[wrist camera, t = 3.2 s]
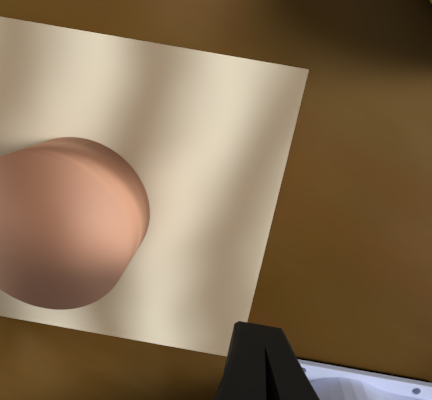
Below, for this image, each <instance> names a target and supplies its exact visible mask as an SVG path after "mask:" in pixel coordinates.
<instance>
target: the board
mask: <svg viewBox="0 0 432 400" xmlns="http://www.w3.org/2000/svg"><path fill="white" fill-rule="evenodd" d="M308 71H309V69H303V68H297V67H292V66H286V65H280V64H274V63H268V62H262V61H257V60H251V59H245V58H239V57H233V56H227V55H221V54H216V53H210V52H204V51H198V50H192V49H186V48H181V47H175V46H169V45H163V44H157V43H151V42H146V41H140V40H134V39H128V38H122V37H116V36H110V35H105V34H99V33H93V32H87V31H81V30H75V29H70V28H64V27H58V26H52V25H46V24H40V23H34V22H29V21H23V20H17V19H11V18H5V17H0V156H2V155H5V154H8V153H11V152H14V151H17V150H20V149H24V148H27V147H30V146H33V145H36V144H39V143H42V142H45V141H49V140H52V139H55V138H61V137H78V138H84V139H88V140H92V141H95V142H98V143H100V144H102V145H104V146H106V147H108V148H110V149H112V150H113V151H115V152H116V153H118V154H119V155H120V156H121V157H122V158H124V159H125V160H126V161H127V162H128V163H129V164H130V165H131V167H132V168H133V169H134V170H135V172H136V173H137V174H138V176H139V178H140V179H141V181H142V183H143V185H144V188H145V190H146V193H147V196H148V200H149V207H150V220H149V226H148V229H147V232H146V235H145V237H144V239H143V241H142V243H141V244H140V246H139V248H138V249H137V251H136V253H135V254H134V256H133V258H132V259H131V261H130V263H129V264H128V266H127V268H126V269H125V271H124V273H123V274H122V276H121V278H120V279H119V281H118V282H117V284H116V285H115V286H114V288H113V289H112V290H111V291H110V292H109V293H108V294H107V295H105V296H104V297H103V298H101V299H100V300H98V301H96V302H94V303H92V304H89V305H87V306H84V307H80V308H75V309H67V310H54V309H46V308H41V307H37V306H33V305H30V304H27V303H24V302H22V301H20V300H18V299H15V298H13V297H12V296H10V295H8V294H6V293H5V292H3V291H2V290H0V316H4V317H9V318H15V319H21V320H26V321H32V322H37V323H43V324H49V325H54V326H60V327H65V328H71V329H77V330H82V331H88V332H93V333H99V334H104V335H110V336H116V337H121V338H127V339H132V340H138V341H144V342H149V343H155V344H160V345H166V346H172V347H177V348H183V349H188V350H194V351H200V352H205V353H211V354H216V355H222V356H227V354H228V350H229V346H230V341H231V337H232V332H233V328H234V324H235V323H236V322H238V321H241V322H247V321H248V317H249V312H250V308H251V304H252V300H253V296H254V292H255V288H256V284H257V280H258V276H259V272H260V267H261V263H262V259H263V255H264V251H265V247H266V243H267V239H268V235H269V231H270V227H271V223H272V218H273V214H274V210H275V206H276V202H277V198H278V194H279V190H280V186H281V182H282V178H283V174H284V169H285V165H286V161H287V157H288V153H289V149H290V145H291V141H292V137H293V133H294V129H295V124H296V120H297V116H298V112H299V108H300V104H301V100H302V96H303V92H304V88H305V84H306V80H307V75H308Z"/></svg>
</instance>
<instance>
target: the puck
mask: <svg viewBox="0 0 432 400" xmlns="http://www.w3.org/2000/svg"><path fill="white" fill-rule="evenodd" d="M149 220H150V207H149V200H148V196H147V193H146V190H145V188H144V185H143V183H142V181H141V179H140V178H139V176H138V174H137V173H136V172H135V170H134V169H133V168H132V167H131V165H130V164H129V163H128V162H127V161H126V160H125V159H124V158H122V157H121V156H120V155H119V154H118V153H116V152H115V151H113V150H112V149H110V148H108V147H106V146H104V145H102V144H100V143H98V142H95V141H92V140H88V139H84V138H78V137H61V138H55V139H52V140H49V141H45V142H42V143H39V144H36V145H33V146H30V147H27V148H24V149H20V150H17V151H14V152H11V153H8V154H5V155H2V156H0V290H2V291H3V292H5V293H6V294H8V295H10V296H12V297H13V298H15V299H18V300H20V301H22V302H24V303H27V304H30V305H33V306H37V307H41V308H46V309H54V310H67V309H75V308H80V307H84V306H87V305H89V304H92V303H94V302H96V301H98V300H100V299H101V298H103V297H104V296H105V295H107V294H108V293H109V292H110V291H111V290H112V289H113V288H114V286H115V285H116V284H117V282H118V281H119V279H120V278H121V276H122V274H123V273H124V271H125V269H126V268H127V266H128V264H129V263H130V261H131V259H132V258H133V256H134V254H135V253H136V251H137V249H138V248H139V246H140V244H141V243H142V241H143V239H144V237H145V235H146V232H147V229H148V226H149Z"/></svg>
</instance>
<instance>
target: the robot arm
mask: <svg viewBox="0 0 432 400" xmlns="http://www.w3.org/2000/svg"><path fill="white" fill-rule="evenodd" d="M214 400H432V383H429V382H423V381H417V380H412V379H406V378H401V377H395V376H389V375H384V374H378V373H373V372H367V371H361V370H356V369H350V368H345V367H339V366H333V365H328V364H322V363H317V362H311V361H305V360H300V359H297V357H296V355H295V353H294V352H293V350H292V348H291V346H290V344H289V342H288V340H287V338H286V336H285V334H284V332H283V330H282V329H281V328H275V327H270V326H264V325H258V324H253V323H247V322H241V321H238V322H236V323H235V324H234V328H233V332H232V337H231V341H230V346H229V350H228V354H227V359H226V363H225V368H224V374H223V378H222V381H221V383H220V386H219V388H218V391H217V393H216V396H215V398H214Z"/></svg>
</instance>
